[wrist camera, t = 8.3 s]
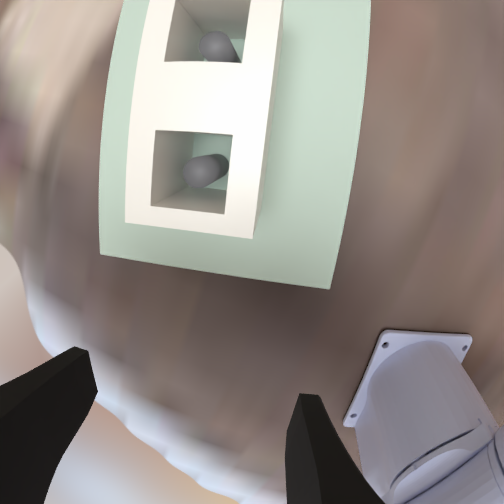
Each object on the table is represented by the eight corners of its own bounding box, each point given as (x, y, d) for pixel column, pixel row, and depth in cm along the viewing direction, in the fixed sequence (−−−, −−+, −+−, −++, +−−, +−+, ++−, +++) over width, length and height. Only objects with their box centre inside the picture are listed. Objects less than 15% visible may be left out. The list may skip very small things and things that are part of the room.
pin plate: (326, 277, 18) (340, 325, 13) (112, 245, 18) (66, 278, 13) (364, 5, 12) (390, -35, 7) (138, -6, 13) (99, -40, 8)
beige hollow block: (261, 208, 15) (252, 239, 10) (169, 197, 15) (125, 222, 11) (283, 30, 12) (284, -17, 7) (189, 26, 12) (153, -15, 8)
